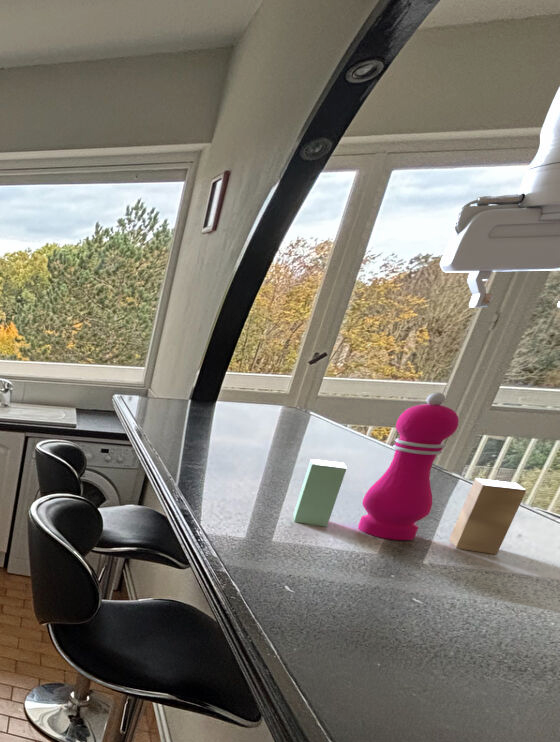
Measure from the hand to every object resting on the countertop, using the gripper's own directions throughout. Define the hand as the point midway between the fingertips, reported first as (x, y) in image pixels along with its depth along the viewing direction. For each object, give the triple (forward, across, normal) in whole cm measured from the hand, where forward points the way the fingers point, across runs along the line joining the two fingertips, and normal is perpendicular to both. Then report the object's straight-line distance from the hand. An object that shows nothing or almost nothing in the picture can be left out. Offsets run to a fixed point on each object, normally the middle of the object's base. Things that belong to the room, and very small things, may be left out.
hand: (522, 307), depth 81 cm
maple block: (+31, -2, -14) cm, 34 cm away
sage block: (+30, -20, -9) cm, 38 cm away
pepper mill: (+31, -11, -11) cm, 35 cm away
